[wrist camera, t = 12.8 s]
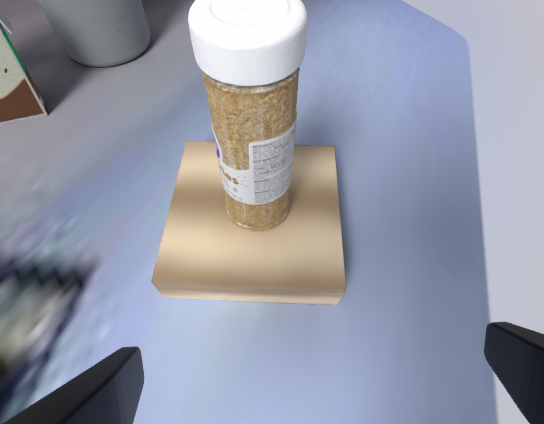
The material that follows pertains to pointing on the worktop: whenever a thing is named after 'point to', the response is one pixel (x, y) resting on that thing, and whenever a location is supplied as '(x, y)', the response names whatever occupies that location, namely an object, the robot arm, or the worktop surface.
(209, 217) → the oak stand
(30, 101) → the food container
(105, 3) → the water bottle
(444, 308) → the worktop surface
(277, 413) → the worktop surface
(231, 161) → the sprinkles bottle
